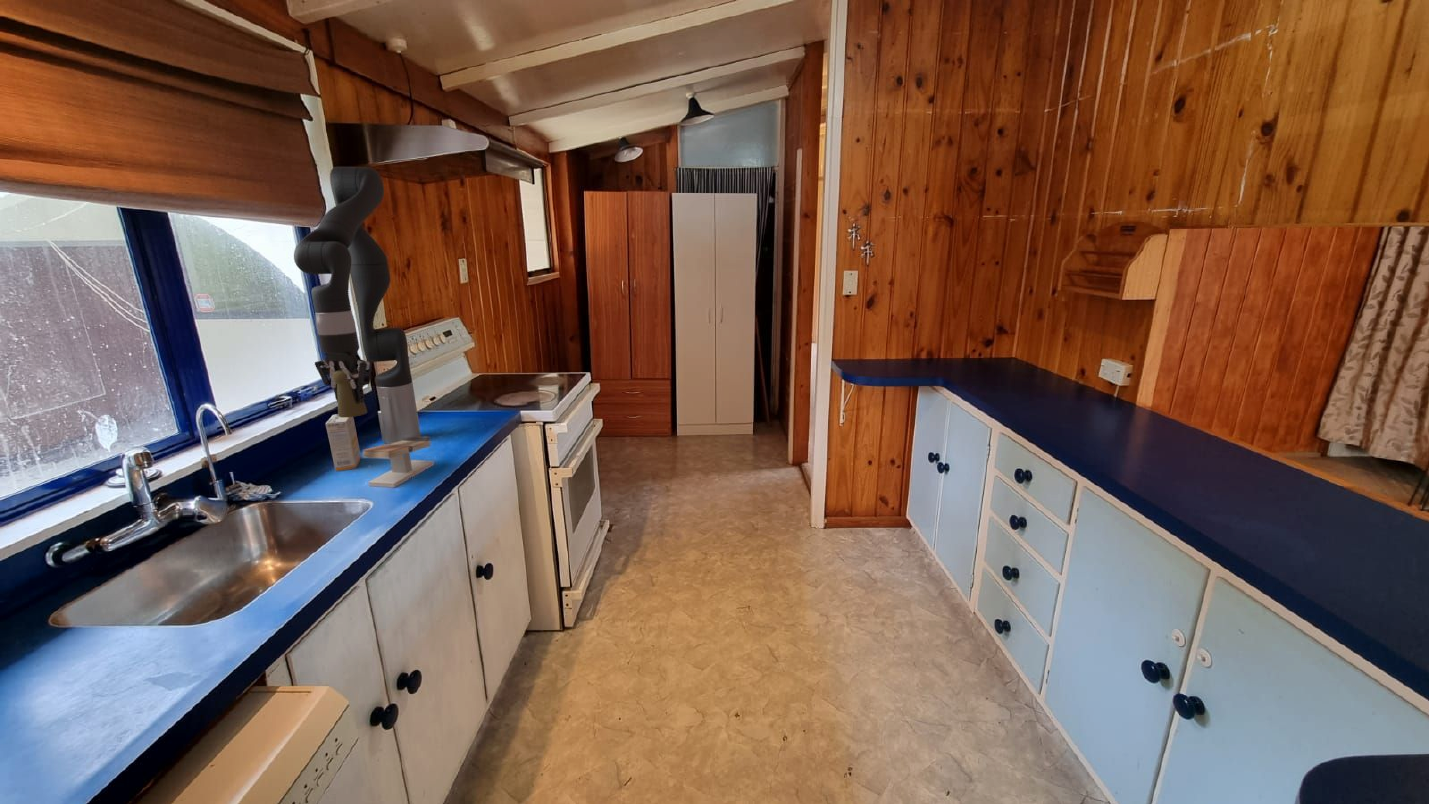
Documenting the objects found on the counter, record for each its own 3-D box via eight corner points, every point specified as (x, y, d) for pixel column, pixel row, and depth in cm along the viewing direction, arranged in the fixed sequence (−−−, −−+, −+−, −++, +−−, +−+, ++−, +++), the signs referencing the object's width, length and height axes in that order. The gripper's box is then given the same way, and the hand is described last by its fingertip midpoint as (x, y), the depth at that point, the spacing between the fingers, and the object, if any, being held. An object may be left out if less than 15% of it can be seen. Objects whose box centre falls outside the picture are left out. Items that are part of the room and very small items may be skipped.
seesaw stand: (368, 486, 136) (364, 462, 134) (410, 463, 150) (407, 442, 148) (394, 487, 135) (390, 464, 133) (434, 464, 149) (430, 443, 147)
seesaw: (363, 457, 134) (362, 447, 133) (407, 445, 148) (406, 435, 148) (389, 459, 133) (388, 448, 132) (430, 446, 147) (430, 436, 147)
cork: (353, 417, 133) (344, 371, 130) (331, 416, 134) (322, 371, 131) (373, 410, 138) (365, 366, 136) (352, 409, 140) (344, 366, 137)
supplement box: (341, 461, 152) (331, 414, 149) (361, 458, 154) (353, 412, 151) (334, 471, 145) (324, 422, 142) (356, 468, 147) (346, 420, 143)
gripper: (376, 329, 133) (388, 399, 138) (324, 328, 136) (337, 398, 140) (351, 333, 126) (364, 408, 131) (296, 333, 129) (311, 406, 133)
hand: (350, 402), depth 136 cm, fingers closed on cork, 4 cm apart
